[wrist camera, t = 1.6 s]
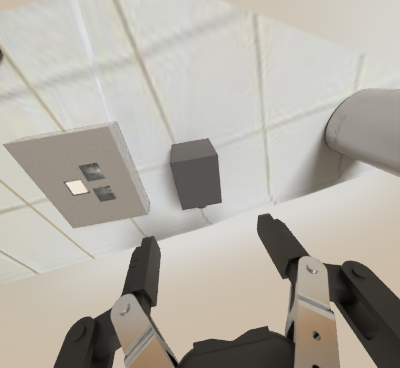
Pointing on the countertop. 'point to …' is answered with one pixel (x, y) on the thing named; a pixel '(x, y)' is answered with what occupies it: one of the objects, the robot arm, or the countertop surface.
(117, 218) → the socket plate
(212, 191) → the plug
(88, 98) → the countertop surface
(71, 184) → the earth shutter
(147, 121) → the countertop surface
